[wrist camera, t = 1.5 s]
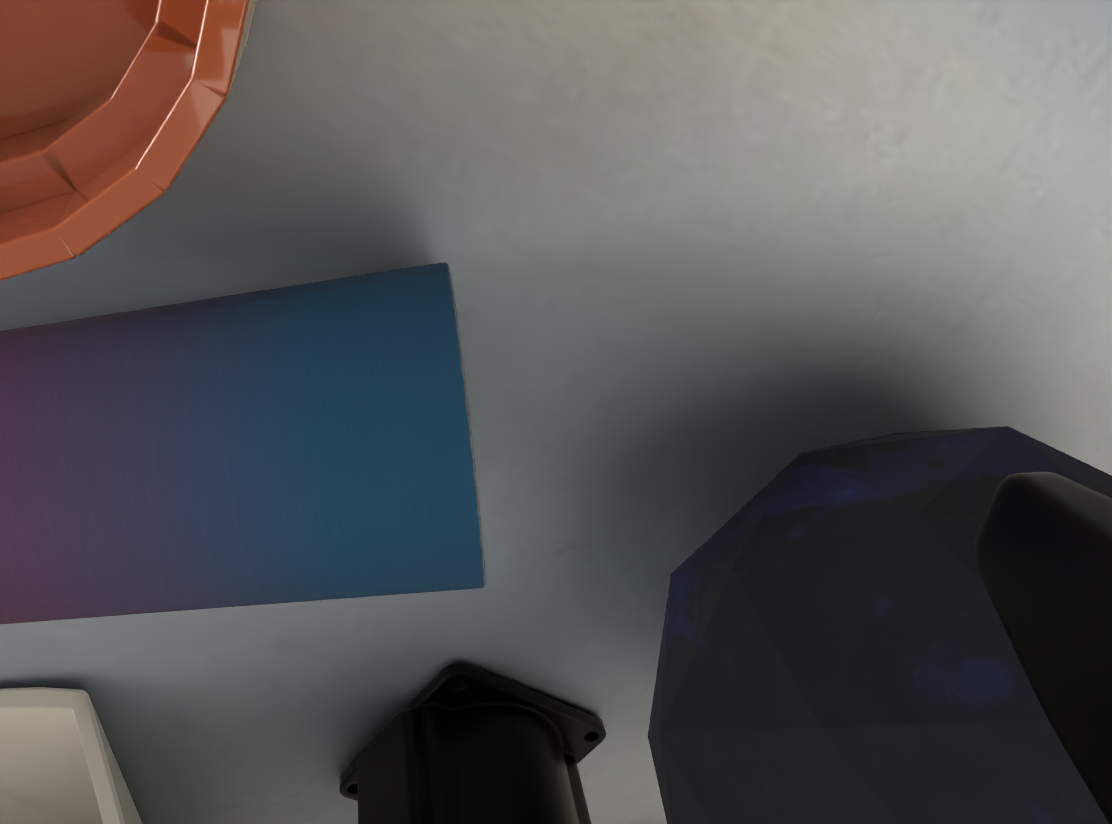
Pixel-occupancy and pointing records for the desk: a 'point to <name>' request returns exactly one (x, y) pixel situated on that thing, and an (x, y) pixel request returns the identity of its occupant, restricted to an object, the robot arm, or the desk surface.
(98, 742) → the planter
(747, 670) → the decorative orb
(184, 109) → the bowl
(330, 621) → the desk surface
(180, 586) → the cup
